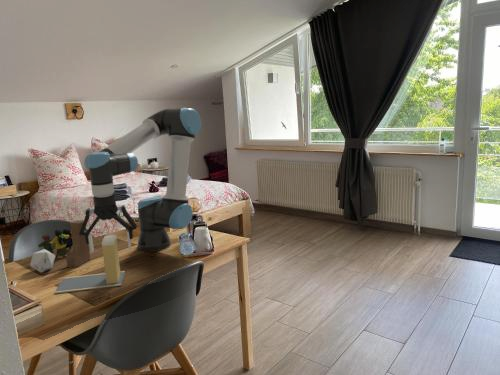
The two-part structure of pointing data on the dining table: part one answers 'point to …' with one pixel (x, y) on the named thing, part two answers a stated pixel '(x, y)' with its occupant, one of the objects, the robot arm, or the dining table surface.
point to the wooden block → (78, 246)
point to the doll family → (58, 242)
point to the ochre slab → (111, 259)
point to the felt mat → (86, 283)
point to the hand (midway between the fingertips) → (111, 249)
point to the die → (42, 260)
